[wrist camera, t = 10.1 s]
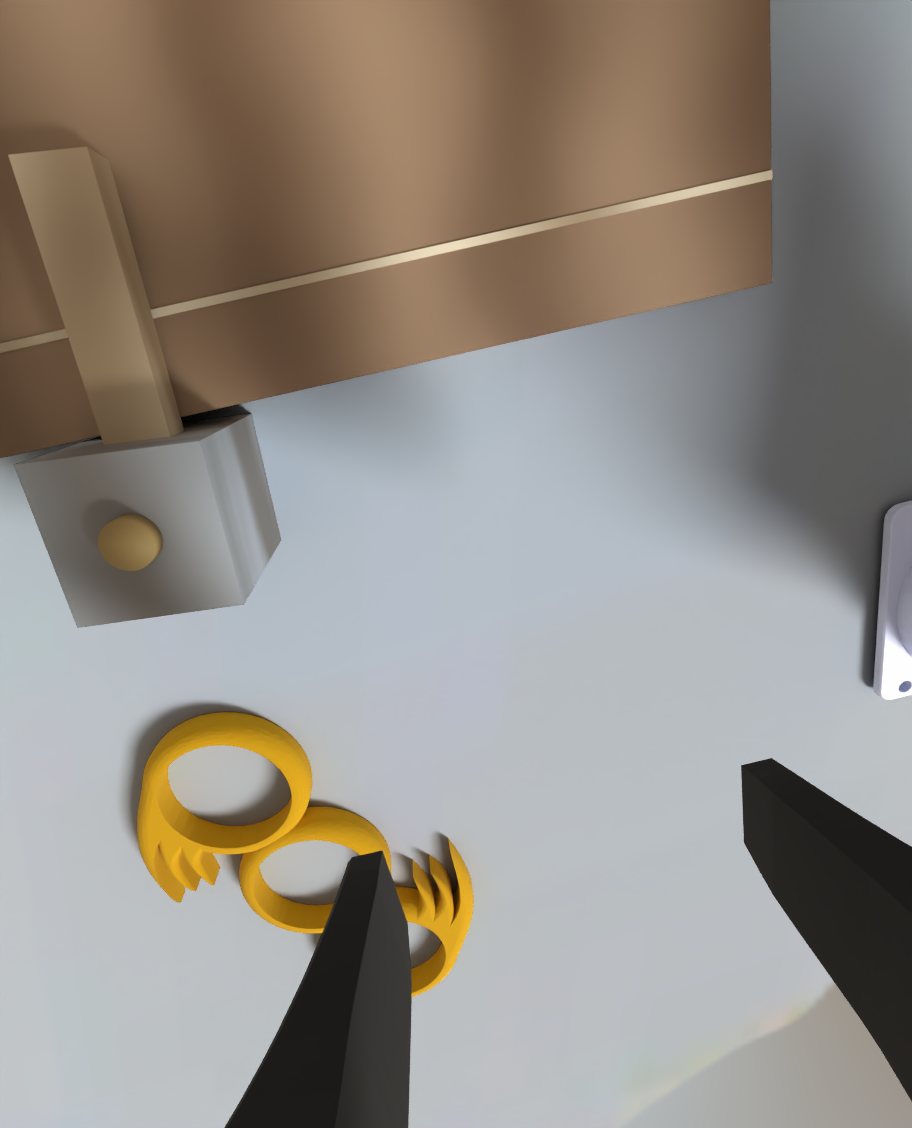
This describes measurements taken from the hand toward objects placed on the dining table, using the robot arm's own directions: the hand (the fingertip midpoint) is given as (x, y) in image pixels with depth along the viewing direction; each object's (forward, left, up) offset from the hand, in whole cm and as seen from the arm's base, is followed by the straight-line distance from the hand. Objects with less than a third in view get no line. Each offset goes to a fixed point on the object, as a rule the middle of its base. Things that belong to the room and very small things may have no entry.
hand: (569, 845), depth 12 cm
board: (+3, -14, -10) cm, 17 cm away
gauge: (+8, -10, -10) cm, 16 cm away
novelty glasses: (+9, +9, -10) cm, 16 cm away
